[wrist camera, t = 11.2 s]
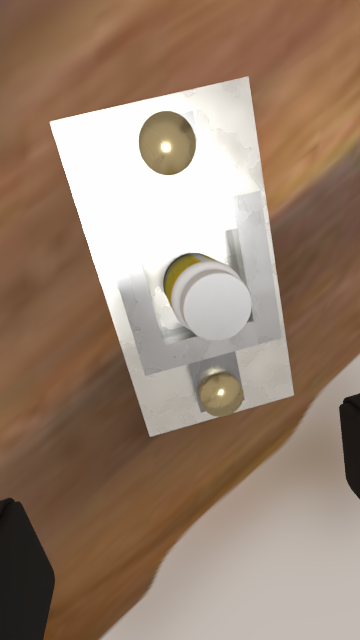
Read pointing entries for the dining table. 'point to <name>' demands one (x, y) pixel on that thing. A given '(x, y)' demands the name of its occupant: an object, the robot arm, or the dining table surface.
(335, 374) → the dining table surface
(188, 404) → the gray plate
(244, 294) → the supplement bottle
